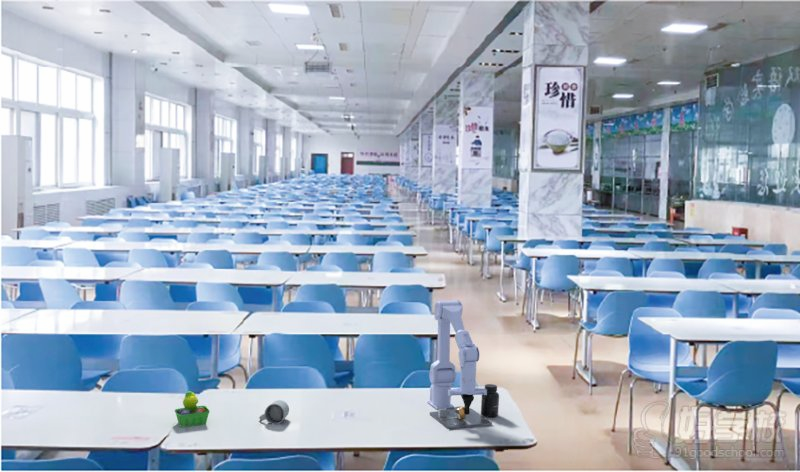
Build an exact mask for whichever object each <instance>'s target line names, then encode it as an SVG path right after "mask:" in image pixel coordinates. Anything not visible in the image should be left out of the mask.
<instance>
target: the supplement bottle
mask: <svg viewBox="0 0 800 472" xmlns="http://www.w3.org/2000/svg"><path fill="white" fill-rule="evenodd" d="M483 389H486V390H487V395H481V401H480V403H481V405H480V415H482V416H483V417H484V418H489V419H491V418H492V419H494V418H497V417H498V416H499V407H500V406H499V405H500V394H499V392H497V391H498V385H497V384H492V383H487V384H486V383H485V384H484V388H483Z"/></svg>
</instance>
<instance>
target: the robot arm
mask: <svg viewBox="0 0 800 472" xmlns="http://www.w3.org/2000/svg"><path fill="white" fill-rule="evenodd" d="M463 308H464V307H463V304H462V301H460V300H457V299H456V300H438V301H436V303H435V305H434V320H435V321H437V360H435V361H434V362H432V364H430V367H429V369H430V370H429V374H428V375H429V377H428V378H429V381H430V383H431V385H430V387H429V388H430V389H429V401H427V403H428V404H429V405H430V406H432V408H434V409H436V410H438V409H444V408H446V409H452V408H454V409H455V405H453V404H452V403H451V399H452V396H461V399H462V401H463V404H464V406H463V407H465V414H466V415H469V409H470V407H471V405H472V403H473V401H474V399H475V396H478V395H479V396H482V395H487V390H486V389H484V388H481V387H480V388H479V387H478V388H477V387H476V384H477V383H476V381H477V380H476V378H477V363H478V362H479V360H480V350H479V347H478V346H477V345H476V344H475V343H473V340H472V338H471V334H470V332H469V331H468V330H465V327H464V326H465V325H464V322H463V319H462V315H463ZM451 326H452V328H453V331H454V332H455V334H454V340H455V343H456V345H457V349H458V360H459V366H460V378H459V379H460V380H459V386H460V387H458V388H452V386H453V385H454V383H455V381H457V372H456V366H455V364H454V362H451V361H450V354H451V353H450V352H451V351H450V350H451V349H450V347H451V342H450V341H451Z"/></svg>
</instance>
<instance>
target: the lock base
mask: <svg viewBox="0 0 800 472" xmlns="http://www.w3.org/2000/svg"><path fill="white" fill-rule="evenodd" d="M429 416H430V417H432V418H433V419H434V420H435V421H436V422H439V423H440V425H443V426H444V427H445V428H446V429H447V430H448V429H451V430H460V429H461V430H462V429H469V428H480V427H488V426H489V427H490V426H493V422H492V421H490V420H489V419H487V417H484V416H482V415H481V413H479V412H477V411H476V410H475V409H473V408H470V407H469V415H466V414H465V419H459V413H456V412H454V409H449V410H448V408H443V409H437V411H430V412H429Z"/></svg>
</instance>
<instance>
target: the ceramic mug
mask: <svg viewBox="0 0 800 472" xmlns="http://www.w3.org/2000/svg"><path fill="white" fill-rule="evenodd" d="M289 412H290V407H289V404H288V403H287V402H286V401H285V400H280V399H279V400H274V402H272V403H271V404H269V405H267V407H265V410H264V413H263V414H260V415H259V417H258V418H259V420H260V422H261V421H265V420H266V421H267V423H269V424H271V425H279V424H281V423H282V422H283V421H284V420H285V419H286V418H287V417H288V415H289Z"/></svg>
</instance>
